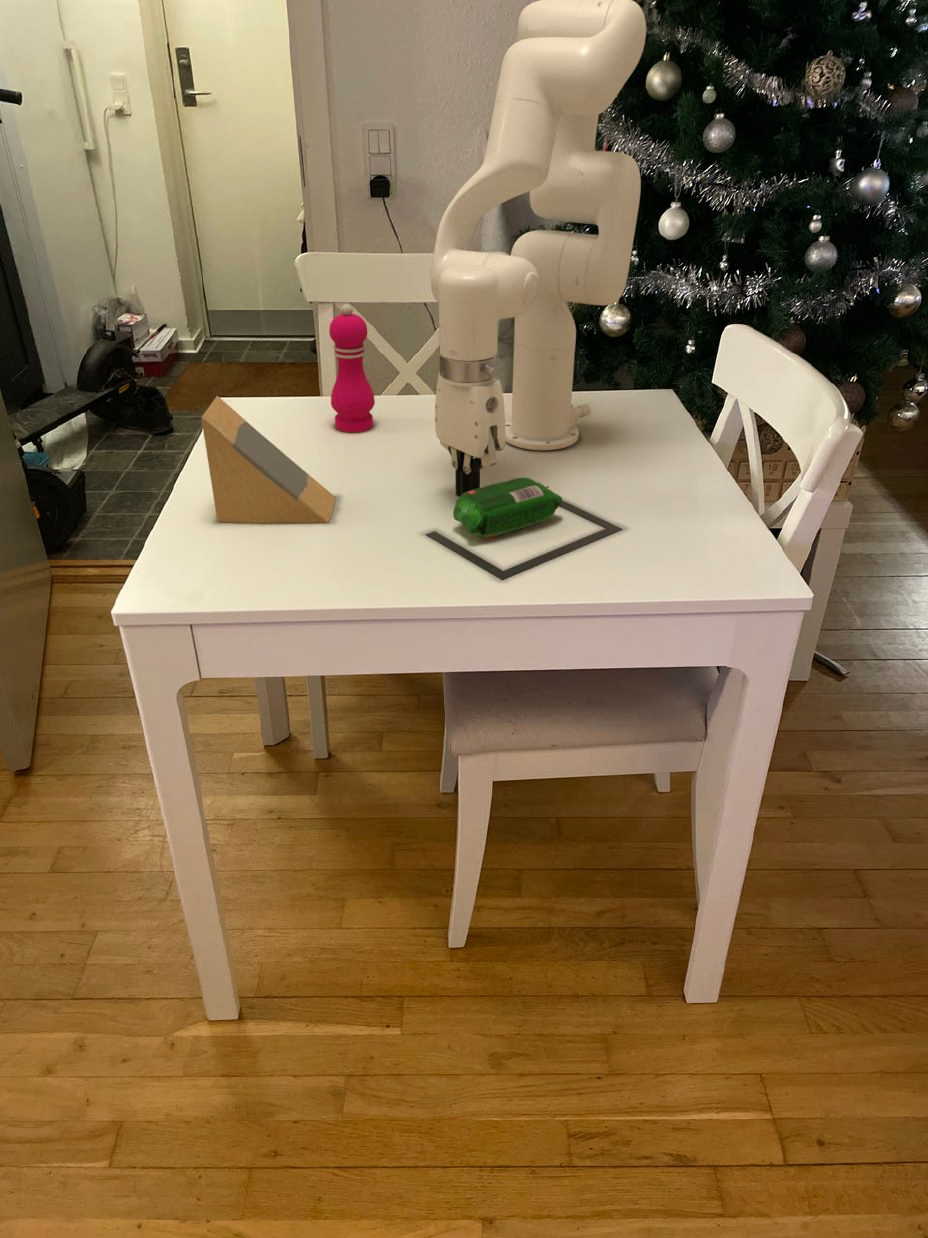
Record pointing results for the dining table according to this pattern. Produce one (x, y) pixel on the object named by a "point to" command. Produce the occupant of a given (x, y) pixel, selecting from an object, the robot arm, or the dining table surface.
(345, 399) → the pepper mill
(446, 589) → the dining table surface
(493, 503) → the snack package
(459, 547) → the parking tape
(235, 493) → the sandwich container
